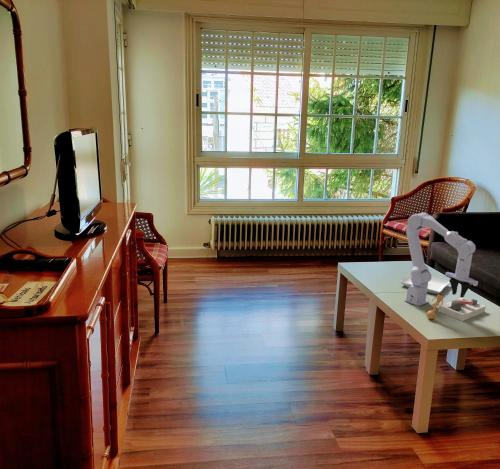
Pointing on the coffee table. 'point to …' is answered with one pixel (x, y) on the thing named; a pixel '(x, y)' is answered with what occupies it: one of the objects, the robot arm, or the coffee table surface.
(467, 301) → the plate
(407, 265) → the coffee table surface
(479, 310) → the panel
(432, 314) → the figurine
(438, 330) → the coffee table surface
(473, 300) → the slider
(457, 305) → the button
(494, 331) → the coffee table surface
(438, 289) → the salad plate
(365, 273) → the coffee table surface
